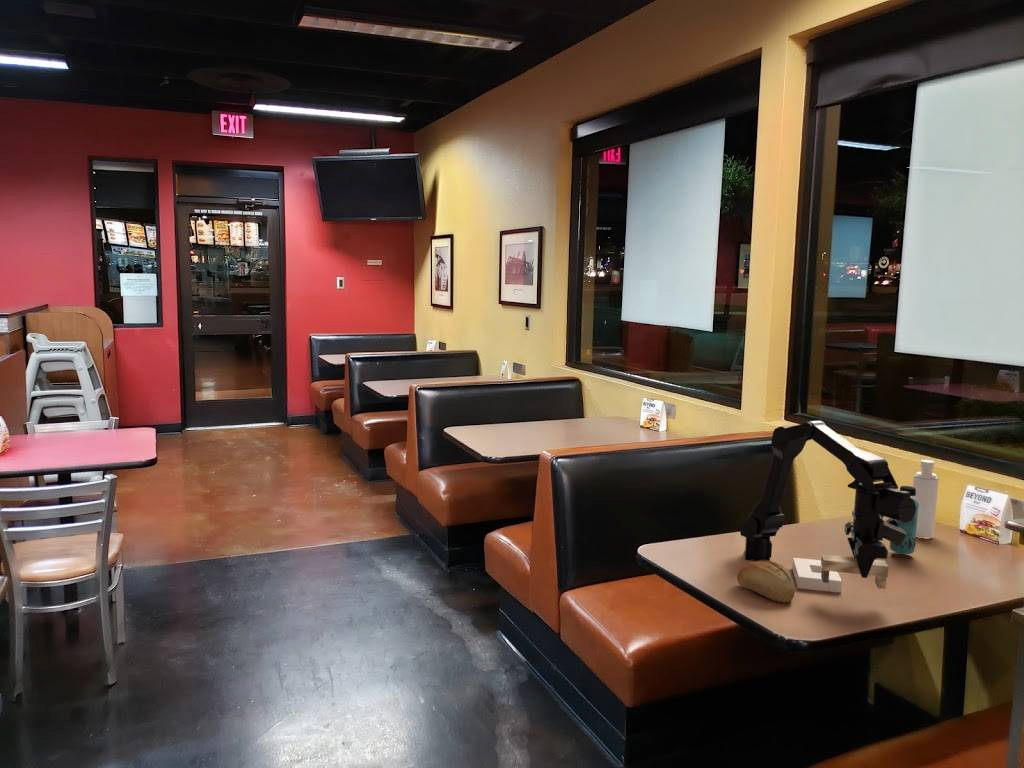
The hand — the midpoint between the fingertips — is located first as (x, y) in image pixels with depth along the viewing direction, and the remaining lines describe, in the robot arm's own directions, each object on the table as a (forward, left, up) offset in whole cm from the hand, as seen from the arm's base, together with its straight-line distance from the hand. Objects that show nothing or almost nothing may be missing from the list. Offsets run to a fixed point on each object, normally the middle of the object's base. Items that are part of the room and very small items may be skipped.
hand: (862, 574), depth 180 cm
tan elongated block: (-2, 0, -2) cm, 3 cm away
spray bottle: (+28, +61, -8) cm, 68 cm away
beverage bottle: (+18, +40, -8) cm, 45 cm away
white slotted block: (-8, +13, -7) cm, 17 cm away
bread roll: (-22, 0, -8) cm, 23 cm away
